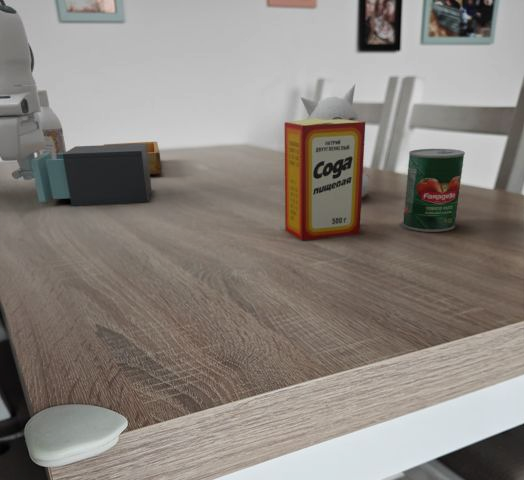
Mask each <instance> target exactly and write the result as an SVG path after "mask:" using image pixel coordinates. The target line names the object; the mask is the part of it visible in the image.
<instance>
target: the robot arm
mask: <svg viewBox="0 0 524 480" xmlns="http://www.w3.org/2000/svg"><path fill="white" fill-rule="evenodd" d="M34 69H35V57H34V52H33V49H32V46H31V45H30V43H29V40H28V36H27V31H26V29H25V25H24V23H23V20H22V18H21V16H20V14H19V12H18V11H17V10H16V9H15V8H13V7H12V6H10V5H6V3H5V1H4V0H0V159H1V160H2V161H4V162H11V161H17V164H18V167H19V168H20V169H21V171H22V173H25V172H33V169H32V164H31V160H32V159H34V158H36V155H35V153H36V152H38V151H40V150H42V149H44V148H45V139H44V135H43V130H42V126H41V122H40V118H39V115H38V113H37V112H41V108H40V102H39V97H38V92H37V90H38V88H37V87H38V86H37V82H36V80H35V78H34V76H33V75H34V74H33V72H34ZM36 154H37V153H36ZM22 179H23V180H25V181H30V180H31V181H32V180H33V179H34V176H22Z"/></svg>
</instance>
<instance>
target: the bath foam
mask: <svg viewBox="0 0 524 480" xmlns="http://www.w3.org/2000/svg"><path fill="white" fill-rule="evenodd" d="M37 92H38V97H39V102H40V108H41V112H37V113H38V115H39V118H40V122H41V126H42V130H43V135H44V139H45V148H44V149H42V150H40V151H38V152H36V157H38V156H40V155H42V154H44V153H47V152H51V156H52V159H57V156H56V154H57V153H65V152H67V149H66V141H65V136H64V131H63V126H62V123H61V120H60V119H59V117H58V115H57V114H56V113H55V111H54V110H53V109H52V108H51V107H50V103H49V102H50V101H49V96H48V91H47V90H46V89H37Z"/></svg>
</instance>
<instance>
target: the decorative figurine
mask: <svg viewBox="0 0 524 480" xmlns="http://www.w3.org/2000/svg"><path fill="white" fill-rule="evenodd" d="M355 89H356V83H354V84H353V85H352V86H351V88H350V89H349V90H348V91H347V92H346V93H345V94H344V95H343V96H342V97H338V96H327V97H325V98H323V99H321V100H319V101H318V102H317V101H314V100H311V99H308V98H305V97H301V96H300V100H301V101H302V104H303V106H304V108H305V110H306V113H307V115H308V116H307V119H314V118H317V119H321V120H335V119H346V120H354V121H359V119H358V114H357V112H356V109H355V108H354V106H353V103H354V95H355ZM307 119H306V120H307ZM370 185H371V184H370V179H369V177H368V176H367V175H366V173H364V172H363V178H362V198H364V197H365V196H366V194H368V192H369V190H370Z"/></svg>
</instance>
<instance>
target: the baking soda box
mask: <svg viewBox="0 0 524 480" xmlns="http://www.w3.org/2000/svg"><path fill="white" fill-rule="evenodd" d="M365 138H366V121H361V120H358V121H354V120H346V119H335V120H321V119H317V118H314V119H301V120H294V121H285V122H284V202H285V203H284V208H285V209H284V210H285V211H284V212H285V213H284V216H285V217H284V220H285V223H284V224H285V228H284V229H285V231H286V232H287V233H289V234H291V235H293V236H294V237H295V238H297V239H298V240H300V241H310V240H316V239H324V238H325V239H326V238H333V237H339V236H348V235H357V234H360V233H361V216H362V214H361V213H362V198H363V197H362V178H363V173H364V159H365V158H364V157H365V141H366V139H365Z"/></svg>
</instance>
